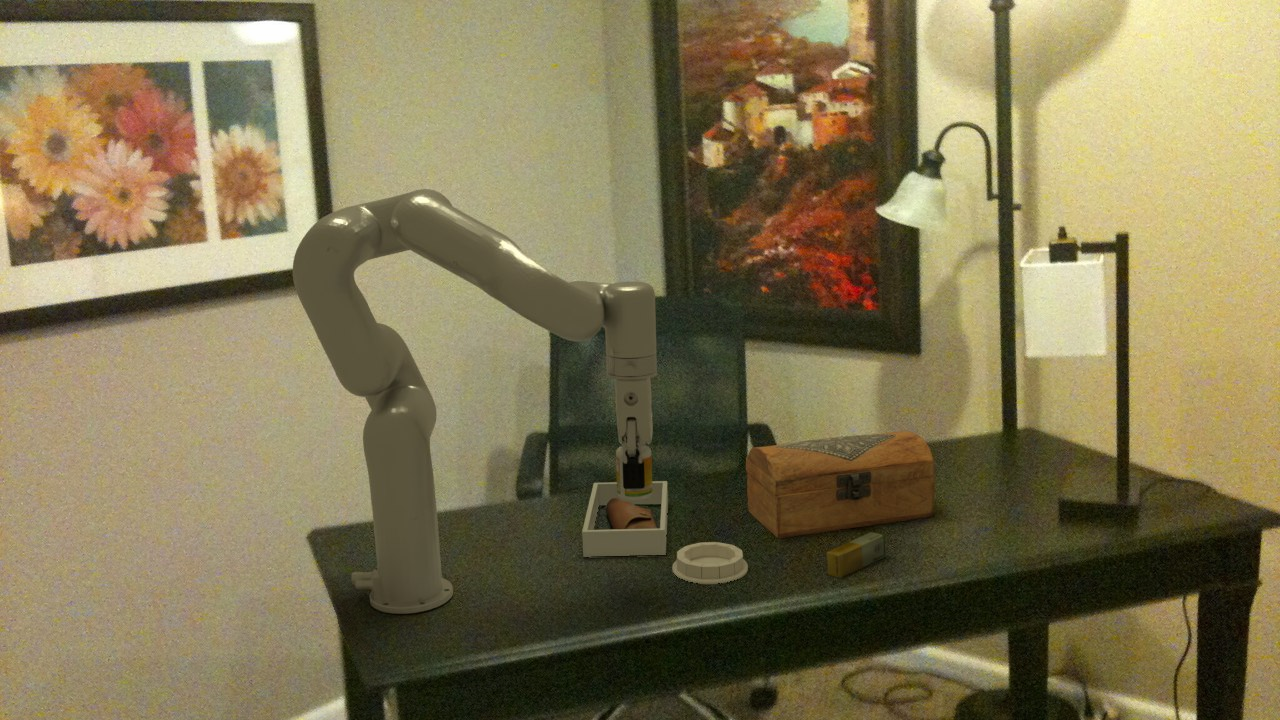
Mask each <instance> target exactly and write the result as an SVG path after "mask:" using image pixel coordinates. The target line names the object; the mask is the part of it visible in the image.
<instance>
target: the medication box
mask: <svg viewBox="0 0 1280 720" xmlns="http://www.w3.org/2000/svg"><path fill="white" fill-rule="evenodd" d="M885 537H886V536H885V534H884V533H881V532H876V531H871V532H870V531H869V532H868V533H866V534H863V535H862V536H859V537H857V538H855V539H852V540H851V541H848V542H846V543H844V544H842V545H839V546H838V547H837V546H836V547H835V548H833V549H831V550H828V551H826V567H827V569H826V570H827V575H830V576H832V577H834V578H839V579H841V578H843V577H846V576H848V575H850V574H852V573H854V572H856V571H859V570H860V569H863V568H865V567H867V566H869V565H872V564H874V563H876V562H878V561H880V560H883V559H885V558H886V545H885V544H886V542H885ZM871 563H872V564H871ZM858 569H859V570H858Z"/></svg>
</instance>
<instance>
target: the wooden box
mask: <svg viewBox="0 0 1280 720" xmlns="http://www.w3.org/2000/svg"><path fill="white" fill-rule="evenodd" d="M745 459H746V460H745V470H746V487H747V488H746V489H747V493H746V495H747V507H748V513H750V514H751V515H752V516H753V517H754V518H755V519H756V520H757V521H758V522H760V524H762V525H763V526H764V527H765V528H766V529H767V530H768V531H769V532H770V533H772V534H773V535H774V536H775V537H776V538H777V539H783V538H790V537H792V538H793V537H798V536H805V535H812V534H819V533H825V532H832V531H833V532H834V531H841V530H847V529H853V528H854V529H855V528H860V527H861V528H862V527H867V526H873V525H881V524H882V523H883V524H890V523H896V522H897V521H898V522H903V521H910V520H911V519H912V520H918V518H920V519H925V518H926V517H927V518H931V517H933V514H934V502H935V501H934V500H935V489H936V488H935V482H936V480H935V478H936V477H935V461H934V456H933V453H932V450H931V449H930V447H929V444H928V442H927V441H926V440H925V439H924V438H923V437H921V436H920V435H918V434H917V433H915V432H913V431H908V430H903V431H902V430H901V431H889V432H884V433H883V432H882V433H872V434H861V435H859V434H857V435H856V434H855V435H847V436H838V437H828V438H821V439H818V438H817V439H809V440H802V441H801V440H800V441H795V442H789V443H783V444H781V443H780V444H776V445H767V446H758V447H757V446H756V447H755V446H754V447H752V448H751V449H750V450H749V451H748V454H747V457H745ZM930 516H931V517H930ZM889 522H890V523H889ZM840 529H841V530H840Z"/></svg>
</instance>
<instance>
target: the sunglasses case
mask: <svg viewBox="0 0 1280 720" xmlns="http://www.w3.org/2000/svg"><path fill="white" fill-rule="evenodd" d="M605 512H606V517H607V518H608V521H609V523H610V525H611V527H612V528H611V529H658V528H659V527H658V526H657V523H656V521H655V519H654V515H653V514H652V510H651V509H649V508H645V507H642V506H635V505H633V504H631V503H629V502H626V501H624V500H621V499H617V498H613V499H611V500H610V501H609V502H608V503H607V505H606V507H605Z"/></svg>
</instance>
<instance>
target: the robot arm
mask: <svg viewBox="0 0 1280 720" xmlns="http://www.w3.org/2000/svg"><path fill="white" fill-rule="evenodd" d="M406 251H411V252H412V253H415V254H417V255H419V256H420V257H422V258H424V259H426V260H427V261H430V262H432V263H433V264H435V265H437V266H439V267H441V268H442V269H445V270H446V271H448V272H450V273H452V274H453V275H456V276H457V277H459V278H460V279H463V280H465V281H467V283H470V284H472V285H473V286H475V287H477V288H479V289H480V290H482V291H483V292H484V293H486V294H487V295H488V296H490V297H491V298H493V299H495V300H496V301H498V302H499V303H501V304H503V305H505V306H506V307H507V308H508V309H510V310H512V311H513V312H515V313H516V314H518V315H520V316H521V317H522V318H524V319H526V320H527V321H529V322H531V323H533V324H535V325H537V326H539V327H541V328H542V329H544V330H546V331H548V332H550V333H552V334H553V335H556V336H558V337H560V338H562V339H564V340H566V341H569V342H570V341H571V342H576V343H577V342H585V341H588V340H591V339H592V338H593V337H595V336H596V335H597V334H598V333H599V331H601V329H602V328H603V329H604V331H605V332H604V334H605V361H606V363H605V364H606V377H607V378H608V379H610V380H611V379H612V380H614V389H615V390H614V396H615V411H616V412H615V413H616V414H615V415H616V426H617V427H616V428H617V436H618V438H617V439H618V443H620V445H621V446H622V445H623V446H624V462H623V487H624V488H625V489H643V488H644V487H645V474H644V462H642V442H646V445H650V444H651V443H652V439H653V428H654V427H653V425H654V424H653V398H652V393H653V392H652V383H651V382H652V381H651V378H653V377H654V378H655V377H656V376H657V375H658V366H657V365H658V364H657V363H658V361H657V358H658V357H657V325H656V324H657V322H656V318H657V317H656V293H655V289H654V287H653V286H652V285H651V284H650V283H648V282H645V281H643V282H642V281H622V282H621V281H619V282H613V283H608V282H607V283H605V282H604V283H603V282H595V281H586V280H585V281H584V280H575V281H570V282H569V281H567V280H564V279H562V278H561V277H559V276H557V275H556V274H554V273H552V272H550V271H549V270H547V269H546V268H545V267H543V266H541V265H540V264H538V263H537V262H536V261H534V260H533V259H532V258H531V257H529V256H528V255H527V254H526V253H525V252H524V251H523V250H522V249H521V247H520V246H519V245H518V244H517V243H516V242H515V241H513V240H512V239H511V238H509V236H507V235H505V234H504V233H502V232H500V231H498V230H496V229H495V228H492V227H490V226H489V225H487V224H485V223H483V222H482V221H480V220H478V219H476V218H474V217H472V216H471V215H468V214H467V213H465V212H463V211H462V210H460V209H458V208H456V207H454V206H453V204H452V203H451V202H450V200H449V198H447V197H446V196H445V195H444V194H443V193H441V192H439V191H437V190H434V189H431V188H430V189H429V188H423V189H416V190H414V191H410V192H409V191H408V192H406V193H403V194H402V193H401V194H399V195H395V196H390V197H388V198H387V197H386V198H382V199H378V200H372V201H368V202H364V203H360V204H355V205H351V206H347V207H343V208H341V209H338V210H337V211H333V212H331V213H329V214H327V215H325V216H323V217H321V218H320V219H318V220H317V221H316V223H314V224H313V225H312V226H311V227H310V228H309V229H308V231H307V232H306V234H304V236H303V237H302V239H301V241H300V242H299V244H298V246H297V248H296V251H295V254H294V256H293V261H292V262H293V263H292V281H293V285H294V288H295V291H296V294H297V296H298V299H299V301H300V302H301V305H302V308H303V309H304V311H305V313H306V315H307V318H308V319H309V321H310V323H311V326H312V327H313V329H314V332H315V334H316V337H317V339H318V341H319V342H320V344H321V346H322V349H323V351H324V352H325V354H326V356H327V358H328V360H329V362H330V364H331V367H332V369H333V370H334V372H335V375H336V378H337V379H338V381H339V382H340V384H341V386H343V388H344V389H345V390H346V391H348V392H349V393H351V394H352V395H354V396H356V397H361V398H365V399H366V401H367V403H368V405H369V408H370V412H369V414H368V416H367V418H366V420H365V423H364V426H363V430H362V431H363V434H362V445H363V452H364V453H363V454H364V457H365V463H366V468H367V475H368V481H369V482H368V483H369V491H370V500H371V501H370V502H371V508H372V509H371V511H372V512H371V513H372V519H373V521H372V522H373V523H372V524H373V534H374V542H375V543H374V544H375V554H376V555H375V556H376V566H377V569H372V571H371V572H369V571H367V572H365V571H354V572H353V571H352V573H351V584H352V585H355V590H365V589H370V591H371V592H369V602H370V605H371V606H372V607H373V608H374V609H375V610H377V611H379V612H383V613H387V614H395V615H396V614H397V615H405V614H406V615H407V614H408V615H409V614H416V613H422V612H426V611H430V610H433V609H436V608H438V607H440V606H442V605H444V604H446V603H448V601H449V600H450V599H452V596H453V595H454V590H453V589H454V587H453V584H452V582H451V581H449V580H448V579H446V578H444V577H443V576H442V575H443V574H442V573H443V572H442V564H441V563H442V562H441V549H440V537H439V536H440V535H439V534H440V533H439V523H438V521H439V520H438V510H437V508H438V507H437V499H436V487H435V479H434V478H435V477H434V469H433V463H432V453H431V437H432V434H433V431H434V428H435V425H436V422H437V417H438V416H437V415H438V414H437V406H436V403H435V401H434V398H433V396H432V393H431V391H430V390H429V387H428V386H427V385H428V384H427V383H426V381H425V379H424V377H423V375H422V373H421V371H420V369H419V367H418V365H417V363H416V361H415V359H414V357H413V355H412V353H411V351H410V349H409V347H408V345H407V343H406V342H405V340H404V338H403V337H402V336H401V335H400V333H398V332H397V331H396V330H395V329H394V328H392V327H391V326H388V325H386V324H384V323H382V322H381V323H379V322H378V321H377V320H376V318H375V316H374V315H373V313H372V311H371V309H370V306H369V303H368V302H367V301H368V300H366V297H365V295H364V294H363V293H362V291H361V290H360V288H359V286H358V285H357V283H356V280H355V272H356V270H357V269H358V268H359V267H360V266H362V265H364V264H365V263H366V262H368V261H370V260H374V259H379V258H382V257H387V256H391V255H394V254H399V253H402V252H403V253H404V252H406ZM637 438H639V442H636V439H637ZM626 439H627V442H626ZM623 442H624V443H623ZM636 447H638V449H636ZM638 455H639V457H638Z"/></svg>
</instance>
